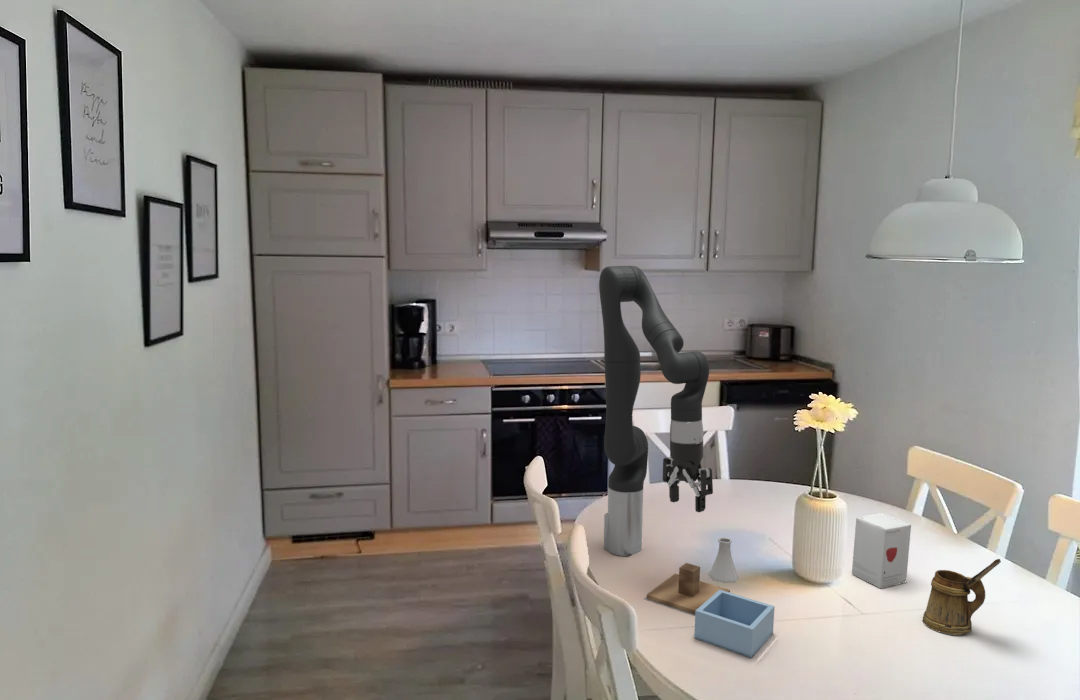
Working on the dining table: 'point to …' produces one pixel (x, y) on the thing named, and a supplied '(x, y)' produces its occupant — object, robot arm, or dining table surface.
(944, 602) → the wooden mug
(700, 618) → the blue storage bin
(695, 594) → the walnut lid
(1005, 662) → the dining table surface
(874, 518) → the supplement box
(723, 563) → the flask
